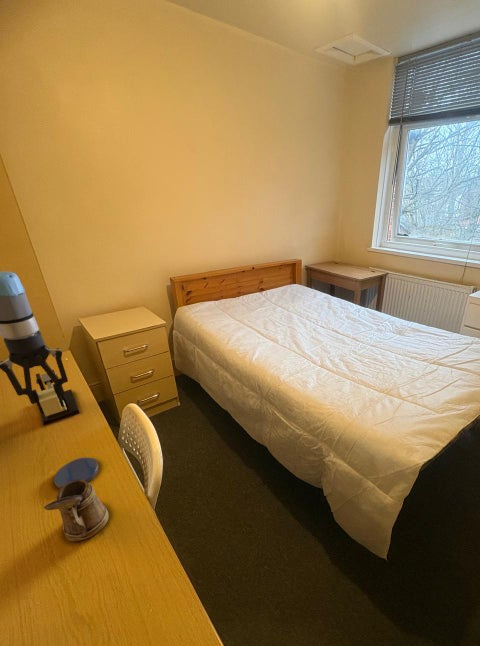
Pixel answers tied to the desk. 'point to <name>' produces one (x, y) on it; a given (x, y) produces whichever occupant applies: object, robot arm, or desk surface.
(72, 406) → the slicer
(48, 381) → the slicer blade
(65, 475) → the saucer
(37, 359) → the robot arm
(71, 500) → the wooden mug
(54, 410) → the butter block
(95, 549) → the desk surface
